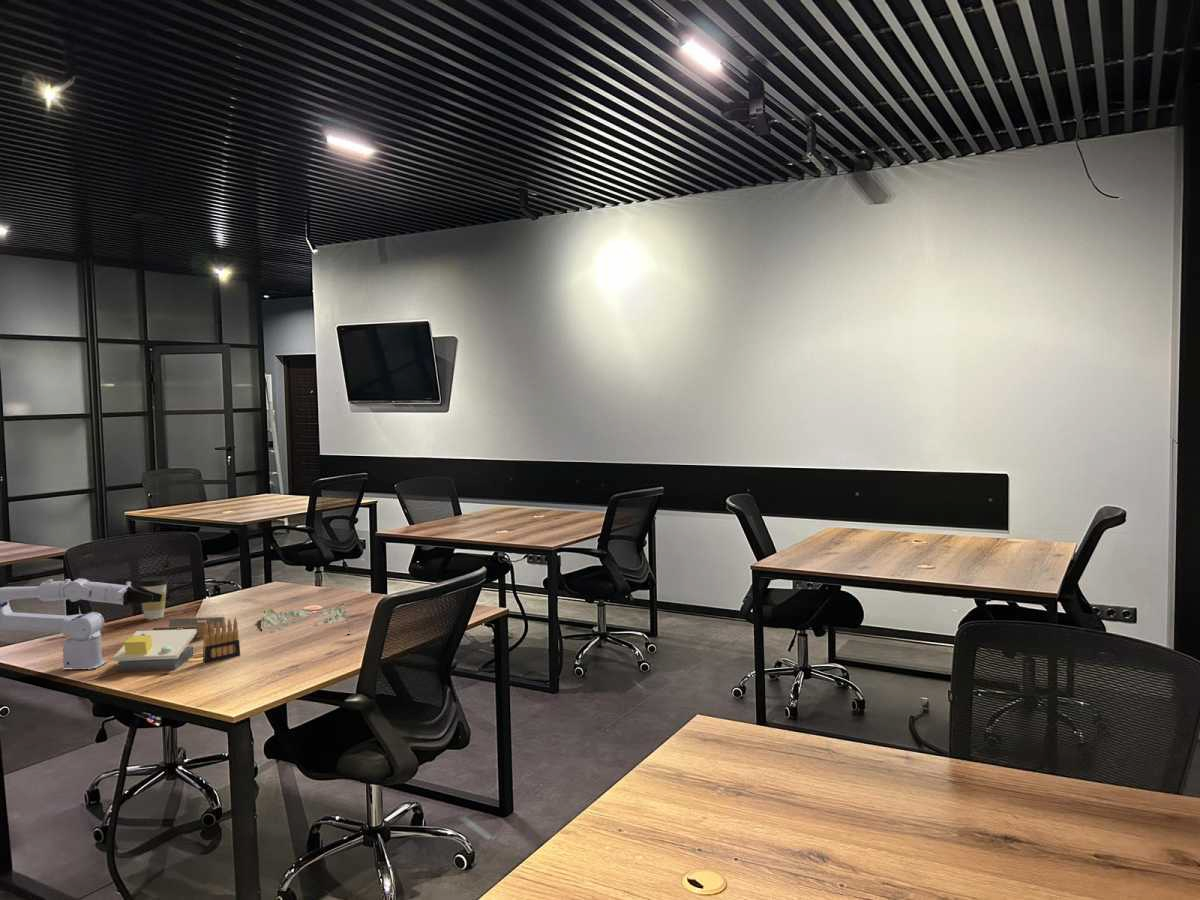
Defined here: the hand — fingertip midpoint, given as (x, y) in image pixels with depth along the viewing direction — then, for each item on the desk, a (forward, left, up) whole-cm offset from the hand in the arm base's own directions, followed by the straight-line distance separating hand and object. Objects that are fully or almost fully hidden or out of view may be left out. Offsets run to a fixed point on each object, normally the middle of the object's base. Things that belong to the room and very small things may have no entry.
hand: (156, 598), depth 252 cm
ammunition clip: (+18, +2, -20) cm, 27 cm away
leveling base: (0, -1, -20) cm, 20 cm away
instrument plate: (0, -1, -15) cm, 15 cm away
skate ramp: (-5, +31, -21) cm, 38 cm away
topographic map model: (+34, +39, -21) cm, 56 cm away
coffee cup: (-26, +60, -20) cm, 69 cm away
